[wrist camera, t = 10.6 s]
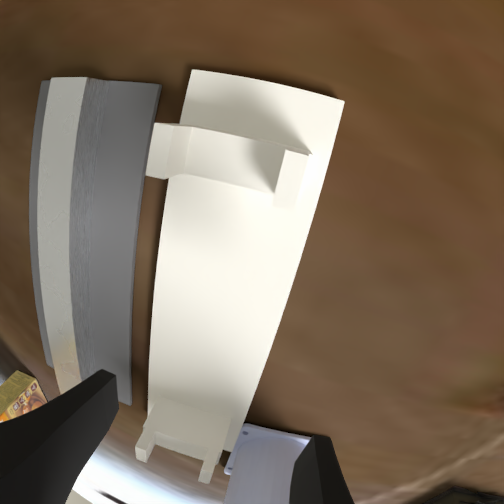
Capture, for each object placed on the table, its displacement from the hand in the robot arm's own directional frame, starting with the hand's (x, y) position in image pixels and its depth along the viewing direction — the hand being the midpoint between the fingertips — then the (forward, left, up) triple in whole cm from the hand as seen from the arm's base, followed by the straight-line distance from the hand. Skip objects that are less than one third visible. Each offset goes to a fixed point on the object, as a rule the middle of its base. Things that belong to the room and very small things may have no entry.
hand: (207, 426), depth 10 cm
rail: (-2, +13, -10) cm, 17 cm away
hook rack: (-2, +2, -10) cm, 11 cm away
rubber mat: (-2, +13, -10) cm, 17 cm away
